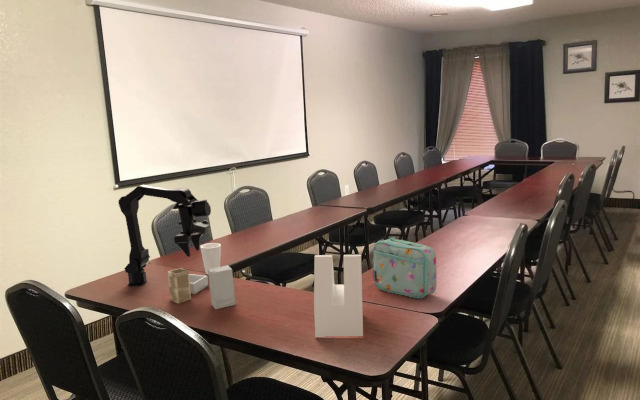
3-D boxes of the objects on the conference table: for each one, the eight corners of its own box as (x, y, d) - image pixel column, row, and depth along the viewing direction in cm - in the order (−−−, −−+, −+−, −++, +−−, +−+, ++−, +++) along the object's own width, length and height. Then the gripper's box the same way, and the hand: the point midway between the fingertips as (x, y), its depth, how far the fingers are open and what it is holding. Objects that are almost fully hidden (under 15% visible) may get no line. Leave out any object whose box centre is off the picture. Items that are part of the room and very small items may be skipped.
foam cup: (218, 276, 231) (215, 248, 228) (199, 275, 232) (196, 248, 230) (225, 269, 240) (223, 243, 237) (207, 269, 242) (205, 242, 239)
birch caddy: (170, 300, 203) (167, 271, 200) (183, 296, 207) (180, 267, 205) (178, 303, 199) (175, 274, 197) (191, 298, 203) (188, 270, 201)
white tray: (173, 291, 212) (172, 281, 211) (187, 283, 222) (186, 273, 221) (194, 294, 209) (193, 283, 208) (208, 285, 218) (207, 275, 217)
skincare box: (231, 300, 200) (228, 264, 197) (235, 305, 195) (233, 268, 192) (210, 305, 196) (207, 268, 194) (214, 310, 191) (211, 272, 188)
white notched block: (363, 339, 163) (361, 264, 158) (315, 339, 164) (312, 264, 159) (362, 315, 182) (360, 247, 177) (319, 315, 183) (317, 248, 178)
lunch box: (367, 288, 208) (366, 237, 204) (382, 281, 215) (381, 232, 211) (424, 303, 190) (424, 248, 186) (438, 295, 197) (439, 242, 193)
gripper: (195, 221, 205) (202, 258, 207) (212, 211, 223) (219, 245, 225) (170, 223, 207) (177, 260, 209) (189, 214, 225) (195, 248, 227)
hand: (193, 253), depth 218 cm, fingers open, 9 cm apart
